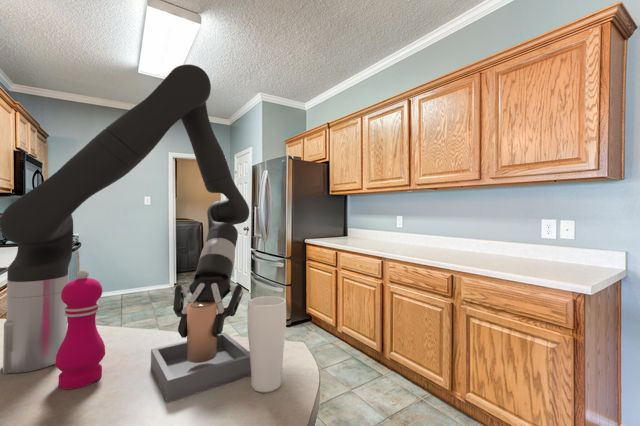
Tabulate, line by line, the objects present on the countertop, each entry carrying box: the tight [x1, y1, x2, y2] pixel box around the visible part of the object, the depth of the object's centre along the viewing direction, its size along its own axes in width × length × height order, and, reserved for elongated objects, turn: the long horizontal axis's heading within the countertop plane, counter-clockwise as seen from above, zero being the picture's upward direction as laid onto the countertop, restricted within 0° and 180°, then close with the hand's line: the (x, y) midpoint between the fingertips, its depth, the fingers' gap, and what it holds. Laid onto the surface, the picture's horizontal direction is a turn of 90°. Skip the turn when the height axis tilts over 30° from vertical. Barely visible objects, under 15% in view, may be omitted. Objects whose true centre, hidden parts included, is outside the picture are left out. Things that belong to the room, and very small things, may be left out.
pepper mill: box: [54, 269, 106, 390], centre depth 57 cm, size 7×7×20 cm
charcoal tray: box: [150, 332, 251, 403], centre depth 60 cm, size 15×15×4 cm
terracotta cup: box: [186, 301, 218, 363], centre depth 61 cm, size 5×5×10 cm
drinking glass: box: [247, 295, 287, 393], centre depth 55 cm, size 7×7×15 cm
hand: (199, 335), depth 59 cm, fingers closed on terracotta cup, 5 cm apart
